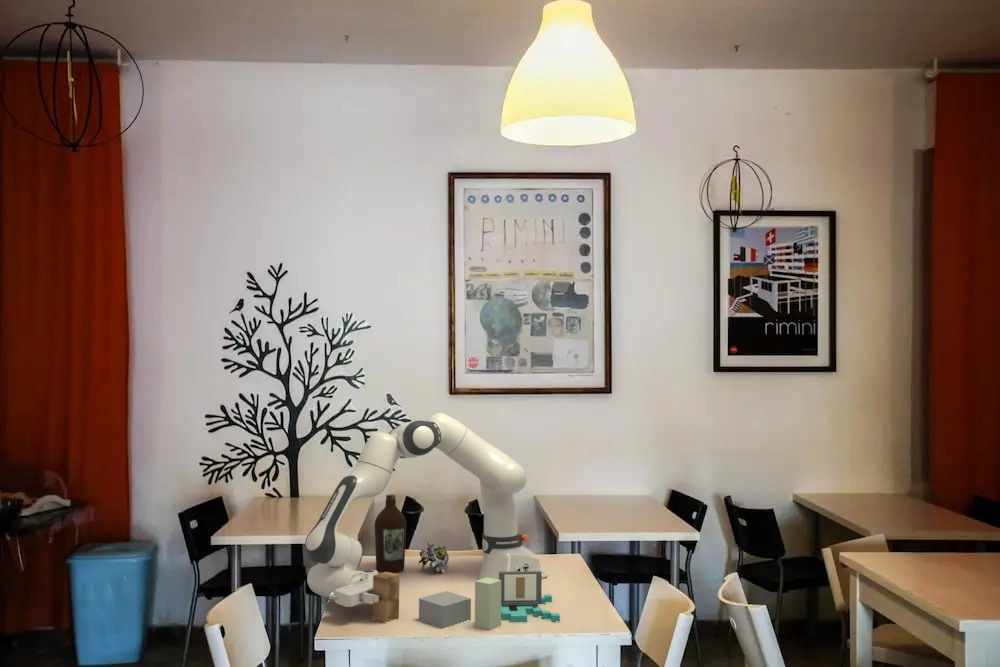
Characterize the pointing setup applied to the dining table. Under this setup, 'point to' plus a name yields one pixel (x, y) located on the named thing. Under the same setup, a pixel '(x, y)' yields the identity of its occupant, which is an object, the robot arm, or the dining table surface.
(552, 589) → the dining table surface
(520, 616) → the alien figure
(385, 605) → the walnut block
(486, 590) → the sage block
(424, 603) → the slate base block
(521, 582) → the grey picture frame
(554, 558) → the dining table surface
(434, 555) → the passion flower
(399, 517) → the olive oil
